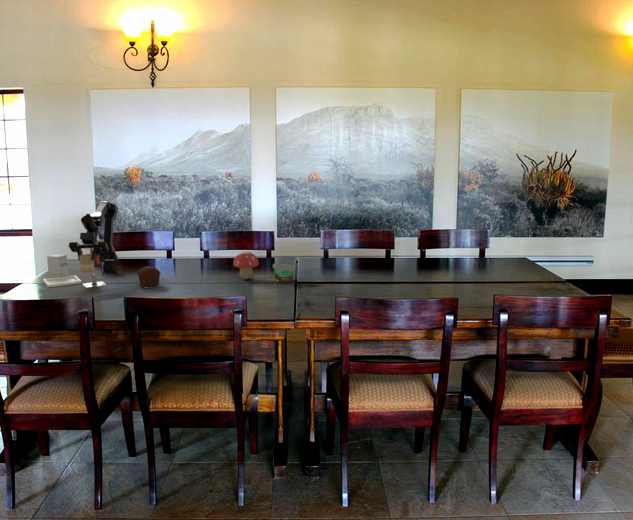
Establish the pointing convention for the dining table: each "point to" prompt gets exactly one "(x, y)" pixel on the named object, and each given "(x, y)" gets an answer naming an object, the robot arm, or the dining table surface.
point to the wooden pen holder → (86, 263)
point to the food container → (283, 272)
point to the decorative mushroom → (246, 264)
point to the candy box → (97, 260)
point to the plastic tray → (62, 281)
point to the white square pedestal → (94, 282)
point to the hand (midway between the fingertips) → (85, 260)
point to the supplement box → (57, 265)
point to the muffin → (149, 276)
